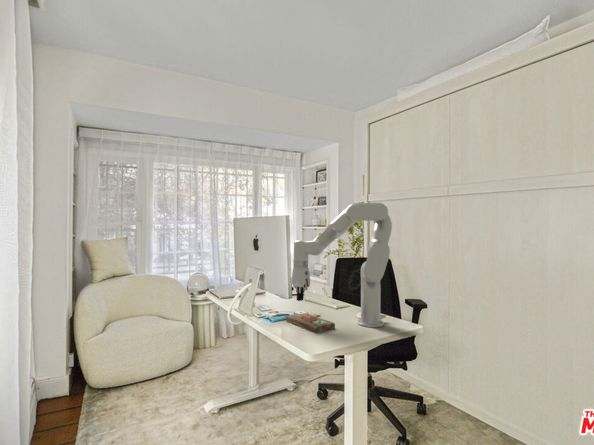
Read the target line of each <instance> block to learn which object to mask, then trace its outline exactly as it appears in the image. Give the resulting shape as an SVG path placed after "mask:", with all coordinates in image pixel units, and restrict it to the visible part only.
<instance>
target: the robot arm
mask: <svg viewBox="0 0 594 445" xmlns="http://www.w3.org/2000/svg"><path fill="white" fill-rule="evenodd" d="M358 221H360V222H362V221H364V222H370V221H372V222H373V230H372V235H371V238H370V242H369V244H368V247H367V258H366V261H364V262H363V263H362V265H361V266H360V318H359V319H358V320H357V324H358V325H360V326H362V327H363V328H364V327H366V328H381V327H383V326H384V321H382V320H383V319H386V317H387V315H386V314H385V313H383V314H381V291H382V290H381V280H382V279H383V276H384V275H385V271H386V268H387V265H388V262H389V258H390V255H391V249H390V246H389V243H390V238H391V234H392V229H393V224H392V220H391V217H390V215H389V209H388V206H386V205H385V204H384V203H381V202H365V203H361V202H357V203H356V202H355V203H350V204H349V205H348V206H347V207H346V208H345V209H343V211H342V212H340V214H338V215H337V216H336V217H335V218H334V219H332V221H331V222H330V223H328V225H327V226H326V228H325V229H324V230H323V231H322V232H320V234H319V235H317V236H316V237H315V238H314V239H312V240H305V239H297V240H295V241H294V242H293V265H292V266H293V267H292V274H291V284H292V285H293V286H292V287H293V288H294V289H295V292H296V301H297V302H301V301H304V297H305V296H304V294H305V291H308V290H309V289H308V288H309V287H311V274H310V273H311V272H310V267H309V256H310V255H312V256H319V255H320V254H322V253H323V252H324V250H325V249H326V248H327V247H329V245H331V243H333V242H334V241H335V240H336V239H338V238H340V237H342V235H344V234H346V232H347V231H348V230H349V229H350V228H351V227H353V226H354V225H355V224H356V223H357V222H358Z"/></svg>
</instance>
